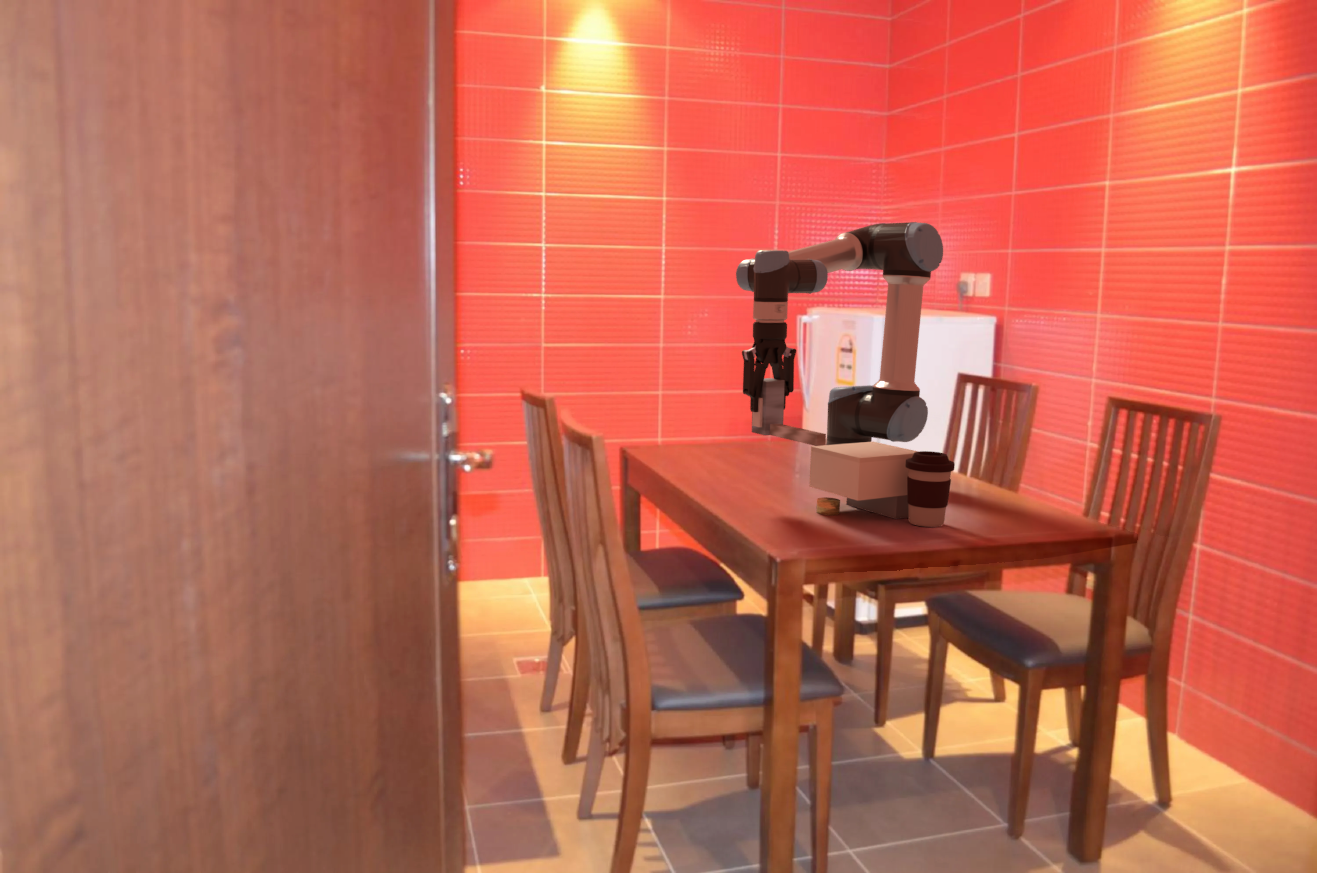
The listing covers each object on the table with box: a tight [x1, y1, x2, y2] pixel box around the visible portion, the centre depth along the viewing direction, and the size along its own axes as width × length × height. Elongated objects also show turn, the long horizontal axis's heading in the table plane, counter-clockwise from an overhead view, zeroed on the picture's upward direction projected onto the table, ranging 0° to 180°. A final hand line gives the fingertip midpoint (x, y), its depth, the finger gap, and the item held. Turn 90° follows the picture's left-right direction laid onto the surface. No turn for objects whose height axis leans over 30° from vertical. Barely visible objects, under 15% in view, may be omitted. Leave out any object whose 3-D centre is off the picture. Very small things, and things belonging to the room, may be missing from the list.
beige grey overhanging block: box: [808, 441, 919, 520], centre depth 231 cm, size 16×18×14 cm
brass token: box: [816, 496, 841, 516], centre depth 230 cm, size 5×5×3 cm
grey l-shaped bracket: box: [751, 377, 827, 446], centre depth 229 cm, size 21×5×12 cm, turn 32°
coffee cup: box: [905, 450, 955, 528], centre depth 221 cm, size 10×10×15 cm
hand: (767, 425), depth 236 cm, fingers closed on grey l-shaped bracket, 5 cm apart
